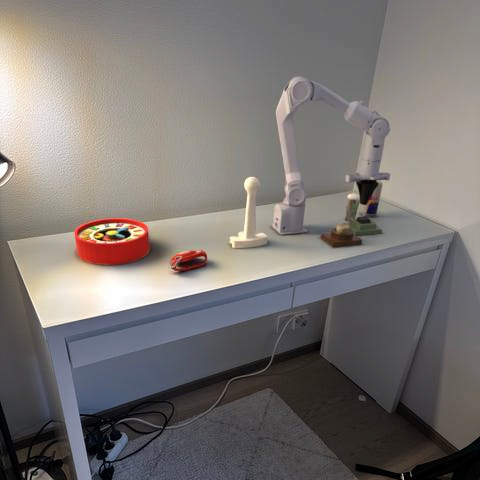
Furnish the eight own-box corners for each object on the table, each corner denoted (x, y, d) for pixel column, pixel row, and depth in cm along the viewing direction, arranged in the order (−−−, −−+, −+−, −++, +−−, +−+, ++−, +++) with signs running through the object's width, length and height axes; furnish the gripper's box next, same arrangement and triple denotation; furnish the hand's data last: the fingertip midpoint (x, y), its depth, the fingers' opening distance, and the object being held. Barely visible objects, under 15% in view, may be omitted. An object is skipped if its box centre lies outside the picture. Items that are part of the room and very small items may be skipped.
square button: (361, 224, 144) (362, 220, 143) (356, 221, 146) (357, 216, 146) (370, 223, 145) (370, 219, 144) (364, 220, 147) (365, 216, 147)
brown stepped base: (332, 247, 133) (334, 236, 132) (320, 238, 140) (321, 227, 138) (361, 244, 136) (363, 234, 134) (348, 235, 143) (349, 225, 141)
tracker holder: (170, 252, 123) (204, 244, 123) (174, 267, 125) (208, 259, 124) (165, 260, 112) (203, 251, 112) (170, 277, 113) (208, 268, 113)
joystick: (235, 249, 130) (237, 180, 119) (225, 240, 135) (226, 173, 125) (268, 244, 133) (273, 177, 123) (258, 236, 139) (262, 171, 129)
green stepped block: (355, 235, 142) (356, 226, 141) (342, 227, 149) (343, 218, 147) (381, 233, 145) (383, 224, 144) (368, 224, 152) (369, 216, 150)
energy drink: (360, 216, 159) (366, 182, 153) (361, 212, 163) (367, 179, 157) (375, 218, 158) (382, 184, 151) (376, 213, 162) (383, 180, 156)
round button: (339, 234, 134) (340, 229, 133) (333, 230, 137) (334, 224, 136) (350, 233, 135) (351, 228, 134) (344, 229, 138) (345, 223, 137)
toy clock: (58, 232, 120) (113, 213, 135) (62, 252, 124) (115, 232, 138) (109, 250, 111) (163, 228, 126) (112, 271, 115) (164, 247, 129)
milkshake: (360, 222, 154) (365, 193, 148) (344, 221, 154) (349, 193, 148) (357, 217, 157) (362, 189, 152) (342, 217, 157) (347, 189, 152)
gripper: (357, 163, 128) (349, 209, 135) (399, 161, 132) (390, 206, 139) (345, 158, 133) (338, 202, 141) (386, 156, 137) (377, 199, 145)
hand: (363, 203), depth 140 cm, fingers closed
